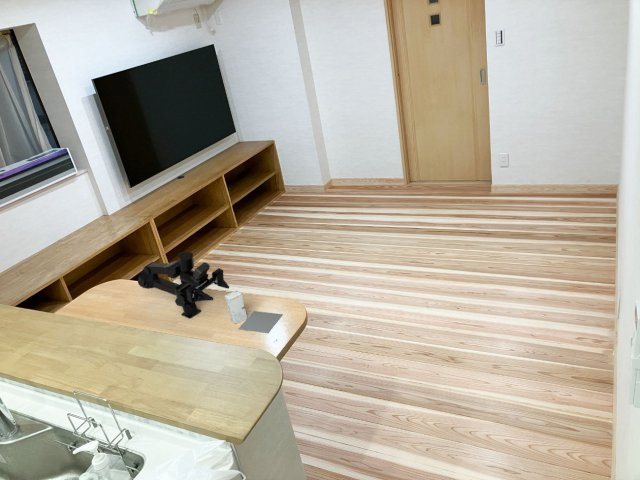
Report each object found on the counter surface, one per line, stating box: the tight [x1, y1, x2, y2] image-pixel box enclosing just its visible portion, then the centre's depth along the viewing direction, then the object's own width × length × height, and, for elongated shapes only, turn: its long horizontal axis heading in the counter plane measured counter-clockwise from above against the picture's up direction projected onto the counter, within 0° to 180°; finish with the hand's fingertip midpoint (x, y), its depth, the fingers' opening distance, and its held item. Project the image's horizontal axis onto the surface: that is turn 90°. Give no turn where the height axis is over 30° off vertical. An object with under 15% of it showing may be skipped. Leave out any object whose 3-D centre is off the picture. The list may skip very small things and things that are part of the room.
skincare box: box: [224, 290, 248, 325], centre depth 215 cm, size 6×4×12 cm
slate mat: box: [237, 310, 283, 334], centre depth 213 cm, size 14×13×1 cm
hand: (221, 293), depth 208 cm, fingers open, 9 cm apart
